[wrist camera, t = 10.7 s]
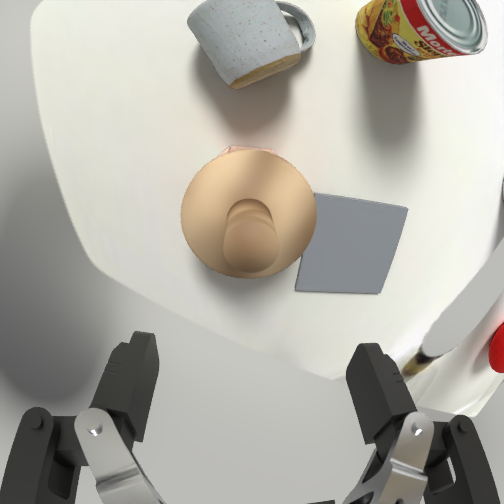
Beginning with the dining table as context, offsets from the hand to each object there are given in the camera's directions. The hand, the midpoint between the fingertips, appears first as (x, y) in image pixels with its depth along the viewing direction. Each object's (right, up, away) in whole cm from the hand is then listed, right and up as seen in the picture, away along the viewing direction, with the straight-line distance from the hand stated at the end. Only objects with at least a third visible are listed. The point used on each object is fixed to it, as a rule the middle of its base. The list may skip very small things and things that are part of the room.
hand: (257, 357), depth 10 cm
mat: (+12, +5, +22) cm, 25 cm away
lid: (0, +7, +13) cm, 15 cm away
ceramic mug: (0, +25, +11) cm, 27 cm away
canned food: (+14, +28, +10) cm, 33 cm away
